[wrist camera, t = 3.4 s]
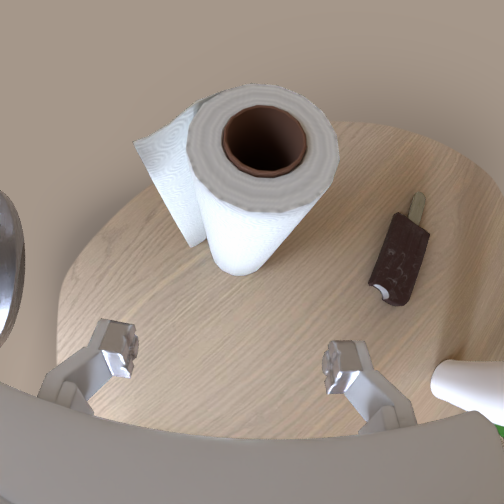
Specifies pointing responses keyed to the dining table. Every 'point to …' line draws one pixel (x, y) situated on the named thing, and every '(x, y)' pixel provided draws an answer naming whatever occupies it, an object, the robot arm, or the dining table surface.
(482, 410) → the drinking glass
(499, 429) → the bell pepper
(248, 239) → the paper towel roll
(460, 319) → the dining table surface
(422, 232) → the ice cream bar
